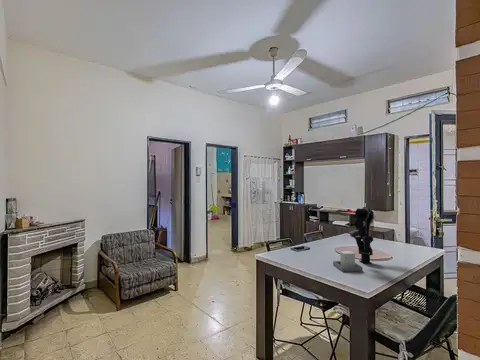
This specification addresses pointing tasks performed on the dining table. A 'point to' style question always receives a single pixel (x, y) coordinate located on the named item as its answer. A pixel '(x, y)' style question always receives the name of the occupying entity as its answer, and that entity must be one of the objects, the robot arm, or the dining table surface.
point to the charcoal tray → (348, 269)
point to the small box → (347, 259)
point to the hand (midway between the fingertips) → (362, 248)
